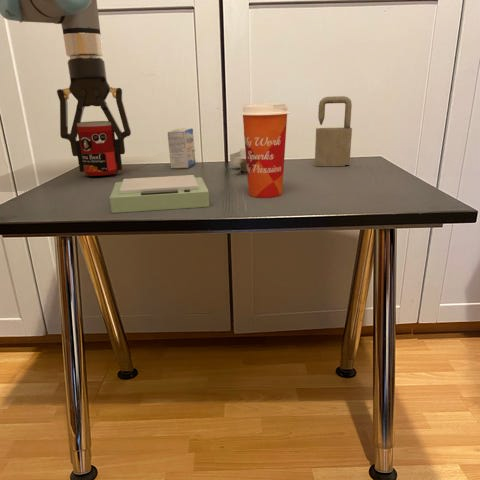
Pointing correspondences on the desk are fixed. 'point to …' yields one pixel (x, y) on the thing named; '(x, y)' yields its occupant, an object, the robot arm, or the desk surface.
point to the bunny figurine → (239, 159)
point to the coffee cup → (265, 147)
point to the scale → (159, 194)
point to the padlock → (333, 137)
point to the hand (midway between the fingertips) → (101, 169)
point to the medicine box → (181, 148)
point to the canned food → (97, 148)
